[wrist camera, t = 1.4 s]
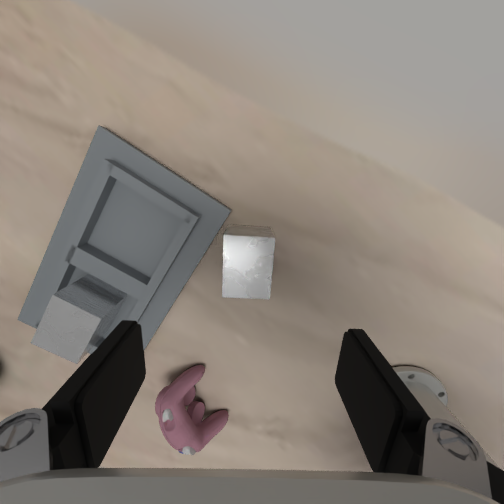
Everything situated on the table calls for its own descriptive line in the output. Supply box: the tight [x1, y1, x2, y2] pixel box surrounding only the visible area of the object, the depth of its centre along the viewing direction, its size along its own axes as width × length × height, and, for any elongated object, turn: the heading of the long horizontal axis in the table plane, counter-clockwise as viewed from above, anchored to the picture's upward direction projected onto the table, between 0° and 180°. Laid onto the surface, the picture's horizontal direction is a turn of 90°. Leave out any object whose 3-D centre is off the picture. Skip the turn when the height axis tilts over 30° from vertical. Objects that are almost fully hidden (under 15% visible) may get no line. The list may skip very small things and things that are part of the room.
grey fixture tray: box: [18, 126, 231, 354], centre depth 25 cm, size 14×24×2 cm, turn 147°
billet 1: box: [31, 274, 128, 364], centre depth 24 cm, size 4×6×5 cm
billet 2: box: [222, 225, 275, 299], centre depth 23 cm, size 4×6×5 cm
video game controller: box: [155, 365, 228, 455], centre depth 29 cm, size 10×5×7 cm, turn 19°
